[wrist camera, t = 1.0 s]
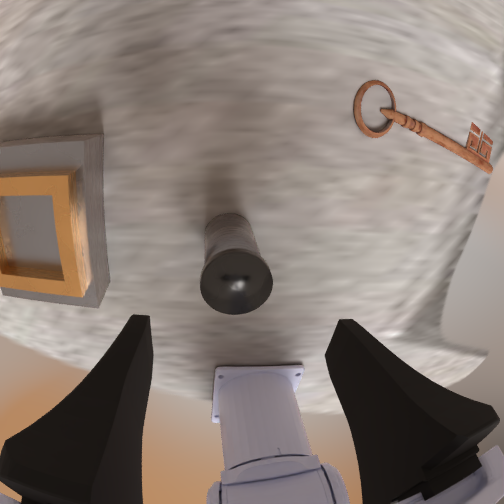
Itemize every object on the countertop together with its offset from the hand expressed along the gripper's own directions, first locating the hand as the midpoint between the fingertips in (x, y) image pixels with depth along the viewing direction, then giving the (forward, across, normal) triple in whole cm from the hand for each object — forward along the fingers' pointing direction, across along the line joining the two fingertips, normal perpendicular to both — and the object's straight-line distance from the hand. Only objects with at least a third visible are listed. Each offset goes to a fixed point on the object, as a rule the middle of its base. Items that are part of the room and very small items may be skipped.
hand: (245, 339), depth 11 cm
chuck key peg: (+9, 0, 0) cm, 9 cm away
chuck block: (+9, +12, -1) cm, 15 cm away
